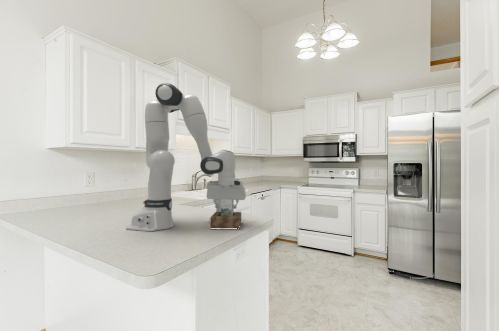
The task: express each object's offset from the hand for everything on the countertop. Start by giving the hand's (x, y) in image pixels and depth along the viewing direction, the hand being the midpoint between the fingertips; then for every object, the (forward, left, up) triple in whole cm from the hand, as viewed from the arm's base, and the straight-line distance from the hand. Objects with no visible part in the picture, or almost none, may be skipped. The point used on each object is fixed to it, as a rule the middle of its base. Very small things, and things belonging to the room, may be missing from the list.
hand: (225, 208), depth 124 cm
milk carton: (-3, +13, -10) cm, 16 cm away
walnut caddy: (0, 0, -9) cm, 9 cm away
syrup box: (+1, 0, -10) cm, 10 cm away
